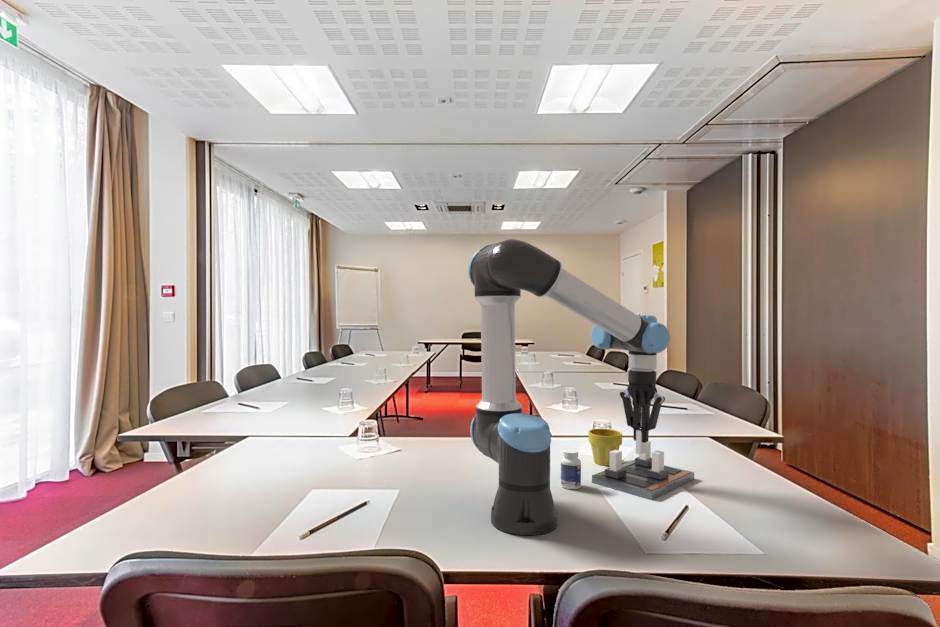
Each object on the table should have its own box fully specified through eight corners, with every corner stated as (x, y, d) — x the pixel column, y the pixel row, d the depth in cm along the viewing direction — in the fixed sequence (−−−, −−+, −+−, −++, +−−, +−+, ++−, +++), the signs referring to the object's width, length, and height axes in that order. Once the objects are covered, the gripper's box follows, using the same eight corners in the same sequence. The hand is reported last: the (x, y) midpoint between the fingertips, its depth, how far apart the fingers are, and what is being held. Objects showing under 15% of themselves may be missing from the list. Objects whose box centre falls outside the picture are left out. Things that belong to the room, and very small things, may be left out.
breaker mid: (660, 479, 138) (660, 455, 138) (647, 476, 141) (647, 452, 141) (668, 476, 141) (668, 452, 141) (654, 472, 144) (655, 449, 144)
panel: (652, 500, 129) (652, 491, 129) (591, 482, 142) (591, 474, 142) (694, 479, 145) (694, 471, 145) (636, 465, 159) (636, 458, 159)
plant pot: (626, 468, 156) (626, 436, 156) (592, 467, 156) (592, 435, 156) (617, 458, 166) (617, 428, 166) (585, 458, 166) (585, 428, 166)
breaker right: (647, 466, 149) (647, 444, 149) (634, 463, 152) (635, 441, 152) (654, 463, 152) (654, 441, 152) (642, 460, 155) (642, 439, 155)
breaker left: (617, 478, 138) (617, 454, 138) (604, 475, 141) (604, 451, 141) (626, 475, 141) (626, 451, 141) (613, 471, 144) (613, 448, 144)
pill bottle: (581, 490, 136) (581, 454, 136) (560, 489, 137) (560, 453, 137) (580, 483, 141) (580, 448, 141) (561, 482, 142) (561, 447, 142)
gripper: (670, 371, 142) (669, 455, 142) (628, 366, 151) (626, 446, 151) (657, 372, 137) (655, 460, 137) (614, 368, 146) (612, 450, 146)
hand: (640, 453), depth 144 cm, fingers closed
